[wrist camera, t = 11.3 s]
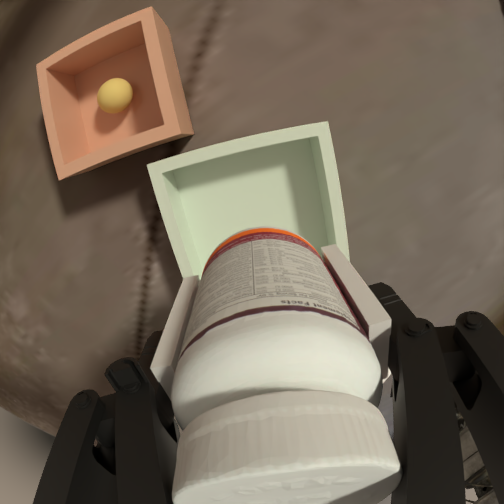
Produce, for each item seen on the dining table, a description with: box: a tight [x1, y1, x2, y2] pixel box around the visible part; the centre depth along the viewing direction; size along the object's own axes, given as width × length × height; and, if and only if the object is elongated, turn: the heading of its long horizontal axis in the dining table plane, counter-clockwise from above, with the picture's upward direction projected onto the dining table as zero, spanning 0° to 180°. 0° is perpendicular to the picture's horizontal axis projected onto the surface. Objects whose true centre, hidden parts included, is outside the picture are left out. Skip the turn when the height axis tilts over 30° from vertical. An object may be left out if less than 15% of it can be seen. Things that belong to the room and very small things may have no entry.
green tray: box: [147, 121, 350, 280], centre depth 25 cm, size 14×14×4 cm
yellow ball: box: [97, 78, 133, 113], centre depth 21 cm, size 3×3×3 cm
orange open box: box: [36, 6, 194, 180], centre depth 20 cm, size 11×11×6 cm
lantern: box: [453, 399, 499, 504], centre depth 27 cm, size 19×19×30 cm
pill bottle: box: [171, 226, 403, 504], centre depth 10 cm, size 6×6×11 cm
